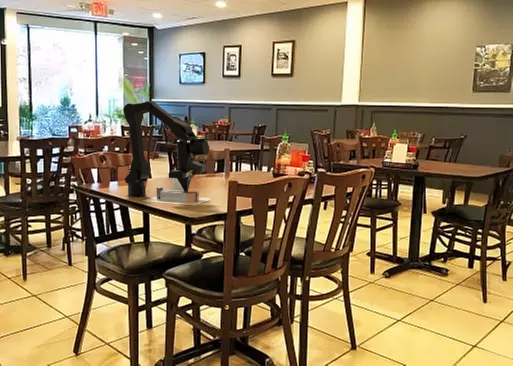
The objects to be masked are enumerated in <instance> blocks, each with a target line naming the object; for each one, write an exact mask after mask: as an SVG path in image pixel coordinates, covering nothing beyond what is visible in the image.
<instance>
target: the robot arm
mask: <svg viewBox="0 0 513 366" xmlns="http://www.w3.org/2000/svg"><path fill="white" fill-rule="evenodd" d="M122 111H123V115H124V118H125V119H124V120H125V121H126V122H127V124H128V127H129V135H130V136H129V137H130V146H131V155H132V156H131V157H132V159H131V163H130V165H129V173H128V174H127V175H126V176H125V178H124V181H125V184H127V192H128V193H127V195H126V197H131V198H143V197H145V196H147V194H146V185H145V182H148V181H147V180H148V177H149V176H150V175H151V171H152V168H151V161H147V160H146V158H145V152H144V142H143V131H142V123H143V120H144V115H145V114H148V113H149V114H150V115H153V116H154V117H155V118H156V119H157V120H159V121H160V122H161V123H163V124H164V125H165V126H167V128H168V129H169V131H170V132H171V133H172V134H173V136H174V137H175V139H174V140H173V141H172V142H171V144H172V145H176V155H177V156H176V157H175V162H176V161H177V167H175V169H172V170H169V172H168V179H172V178H177V179H178V181H179V183H180V184H181V186H182V188H183V190H184V191H189V189H190V184H191V181H192V179H193V178H194V177H196V175H195V174H193V173H197V174H202V173H204V172H205V169H207V164H206V161H205V160H203V159H201V160H199V161H197V160H195V157H194V156H207V155H209V152H210V145H209V143H208V141H207V137H200V138H198V136H197V135H196V134H195V133H194V131H193V127H192V126H191V125H190V124H188V122H187V123H186V122H184V121H182V120H179V119H177V118H175V117H174V116H172V114H170V113H168V112H167V110H165V109H163V108H162V107H161V106H159V105H158V104H157V103H156V102H155V101H152V100H151V101H149V100H147V101H144V102H139V103H132V102H131V103H126V104H125V105H124V107H123V109H122ZM192 155H193V156H192Z"/></svg>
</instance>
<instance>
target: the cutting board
mask: <svg viewBox="0 0 513 366" xmlns="http://www.w3.org/2000/svg"><path fill="white" fill-rule="evenodd" d="M213 199H214V198H213V197H200V196H199V200H198V201H196V202H194V203H190V202H178V201H165V200H160V199H157V196H153V197H150V198H146V199H143V200H142V202H145V203H146V202H148V203H150V202H151V203H162V204H174V205H175V204H176V205H185V206H186V205H187V206H197V205H200V204H202V203H205V202H208V201H210V200H213Z"/></svg>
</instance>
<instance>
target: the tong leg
mask: <svg viewBox="0 0 513 366" xmlns="http://www.w3.org/2000/svg"><path fill="white" fill-rule="evenodd" d="M160 191H171V192H185V193H196V201H198V200H199V197H200V191H199V190H188V191H180V190H173V189H164V187H160V186H159V187H156V197H157V199H160Z"/></svg>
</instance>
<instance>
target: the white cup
mask: <svg viewBox="0 0 513 366" xmlns="http://www.w3.org/2000/svg"><path fill="white" fill-rule="evenodd" d="M171 185H172V190H180V191H184V190H183V188H182V186H181V184H180V183H179V181H178V179H177V178H171Z"/></svg>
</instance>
